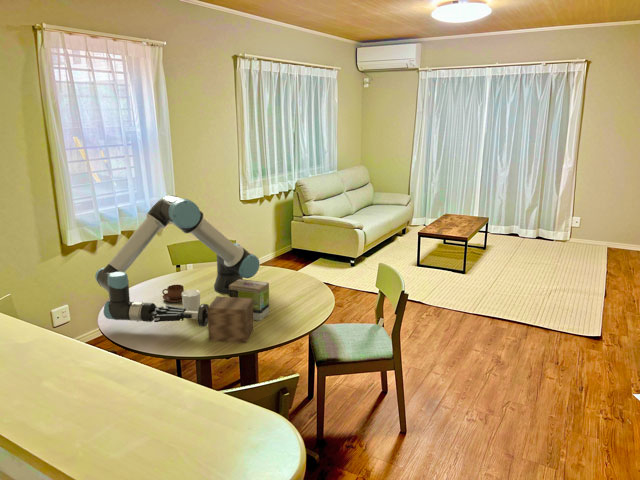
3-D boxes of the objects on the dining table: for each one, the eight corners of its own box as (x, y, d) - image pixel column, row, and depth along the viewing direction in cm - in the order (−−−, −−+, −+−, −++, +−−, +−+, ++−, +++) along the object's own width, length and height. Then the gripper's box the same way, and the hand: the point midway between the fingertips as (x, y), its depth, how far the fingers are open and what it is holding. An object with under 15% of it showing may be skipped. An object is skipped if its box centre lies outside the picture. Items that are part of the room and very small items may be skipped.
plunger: (197, 330, 188) (197, 309, 186) (205, 320, 197) (204, 300, 195) (237, 332, 187) (237, 311, 185) (243, 323, 196) (243, 302, 193)
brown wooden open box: (208, 340, 187) (207, 307, 184) (217, 327, 199) (216, 296, 195) (246, 343, 186) (245, 310, 182) (253, 330, 198) (252, 298, 194)
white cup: (196, 318, 207) (195, 297, 205) (179, 316, 209) (178, 295, 206) (204, 311, 215) (203, 290, 212) (187, 309, 216) (186, 289, 214)
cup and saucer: (164, 305, 220) (163, 293, 219) (161, 296, 231) (160, 284, 229) (191, 302, 225) (190, 289, 224) (186, 293, 236) (186, 281, 234)
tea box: (269, 313, 215) (269, 282, 211) (259, 321, 206) (259, 289, 202) (240, 308, 220) (239, 277, 216) (229, 316, 210) (228, 284, 207)
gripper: (151, 314, 200) (206, 317, 198) (136, 327, 188) (195, 331, 186) (150, 297, 198) (205, 300, 197) (135, 309, 186) (194, 313, 184)
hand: (200, 315), depth 191 cm, fingers closed
